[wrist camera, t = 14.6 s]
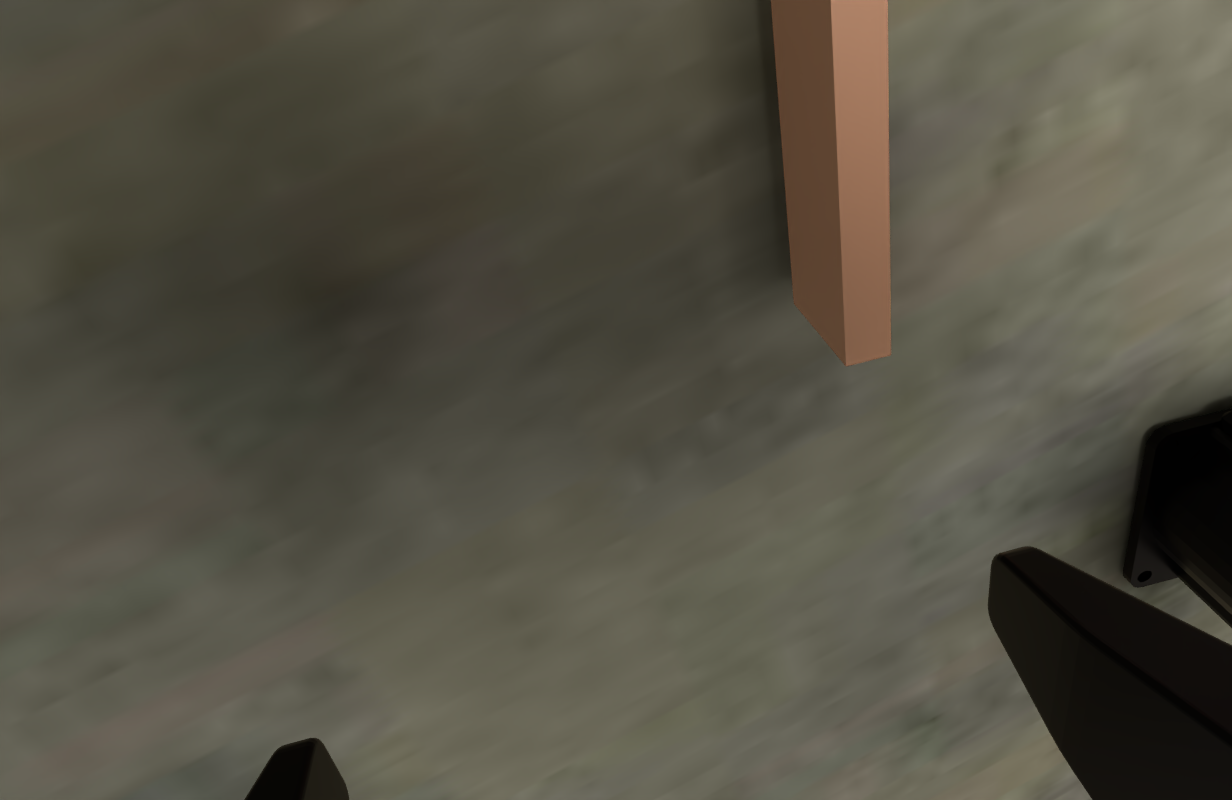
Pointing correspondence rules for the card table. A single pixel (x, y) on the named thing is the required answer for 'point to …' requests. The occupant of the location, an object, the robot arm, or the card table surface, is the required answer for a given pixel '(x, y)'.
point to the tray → (837, 167)
